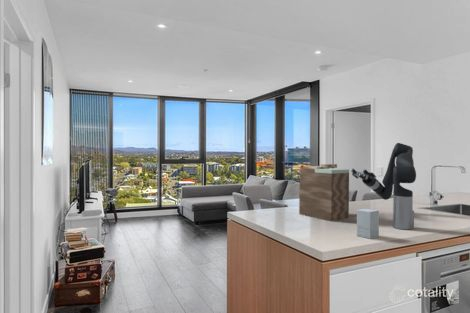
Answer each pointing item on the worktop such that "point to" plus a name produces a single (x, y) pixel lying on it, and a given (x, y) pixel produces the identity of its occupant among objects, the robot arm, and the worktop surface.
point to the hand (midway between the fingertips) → (357, 170)
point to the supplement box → (368, 223)
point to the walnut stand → (324, 193)
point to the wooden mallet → (322, 166)
